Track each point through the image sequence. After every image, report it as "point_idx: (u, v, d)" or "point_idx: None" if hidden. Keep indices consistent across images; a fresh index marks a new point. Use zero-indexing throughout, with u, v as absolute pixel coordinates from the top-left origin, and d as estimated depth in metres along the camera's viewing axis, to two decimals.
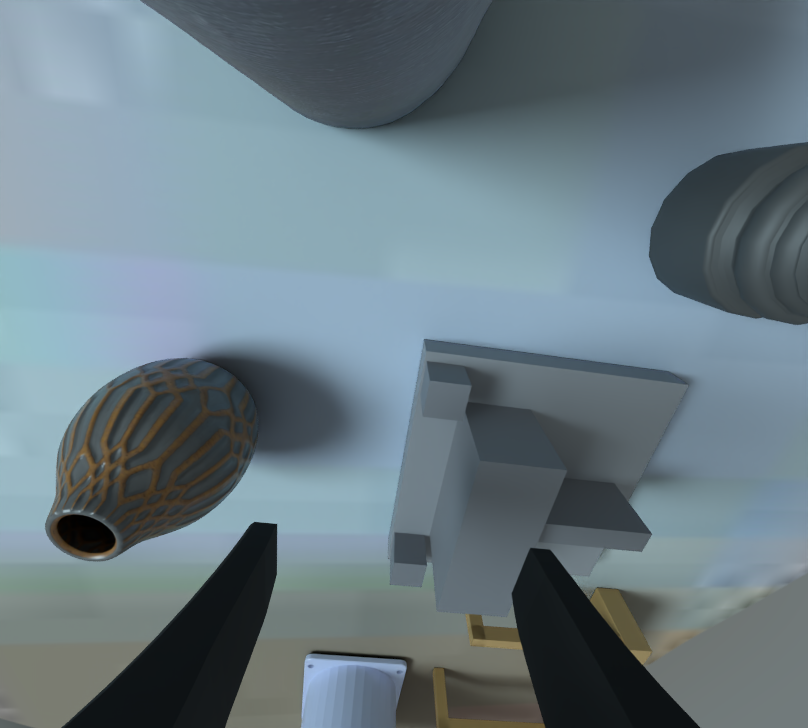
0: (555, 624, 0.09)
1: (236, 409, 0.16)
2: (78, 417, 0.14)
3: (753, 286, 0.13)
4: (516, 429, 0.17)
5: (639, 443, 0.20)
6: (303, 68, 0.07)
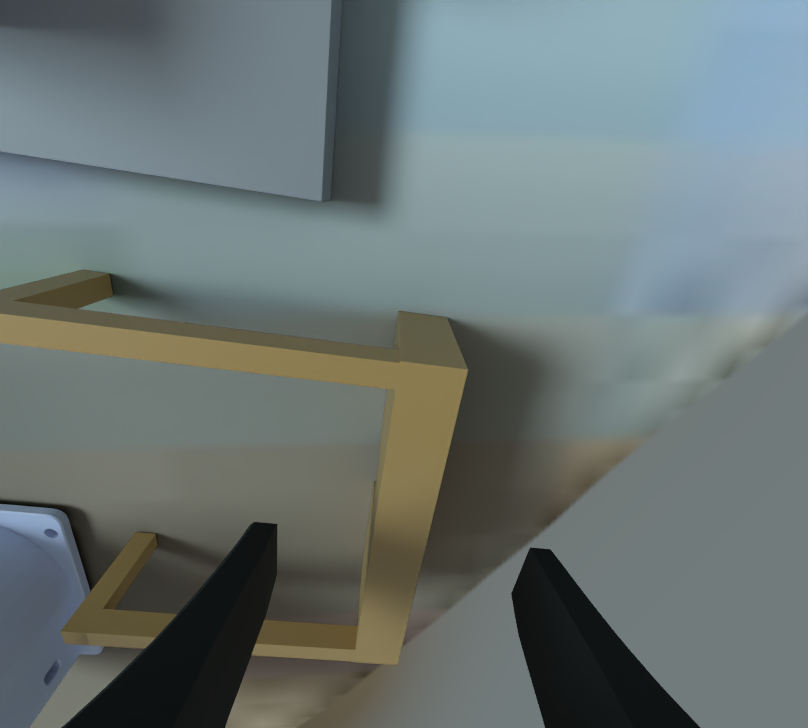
0: (555, 624, 0.09)
1: None
2: None
3: None
4: None
5: None
6: None
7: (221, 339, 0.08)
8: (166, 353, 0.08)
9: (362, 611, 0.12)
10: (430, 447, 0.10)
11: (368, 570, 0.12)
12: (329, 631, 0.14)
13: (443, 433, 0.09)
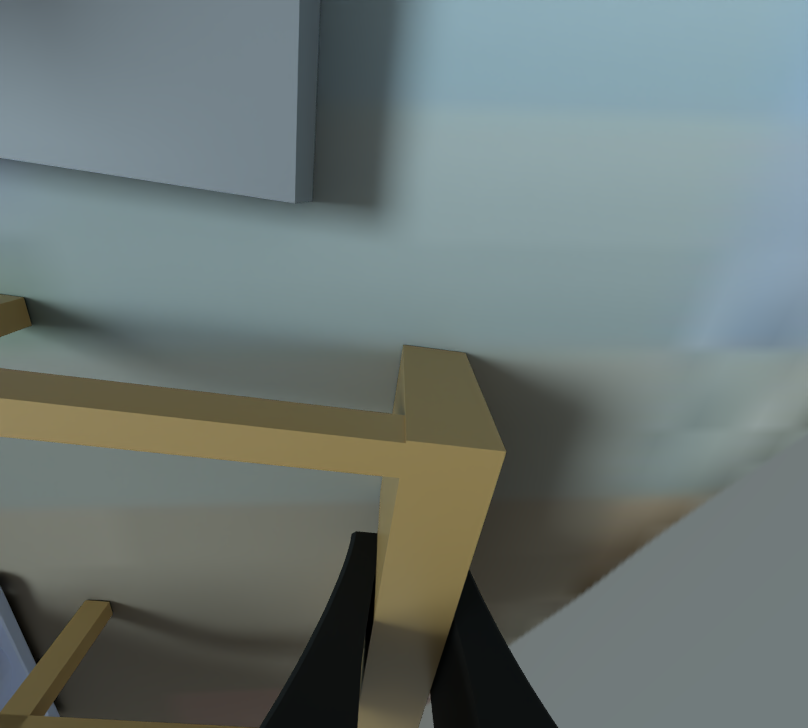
0: None
1: None
2: None
3: None
4: None
5: None
6: None
7: (139, 410, 0.06)
8: (58, 430, 0.06)
9: None
10: (448, 549, 0.07)
11: (362, 688, 0.09)
12: None
13: (467, 533, 0.07)
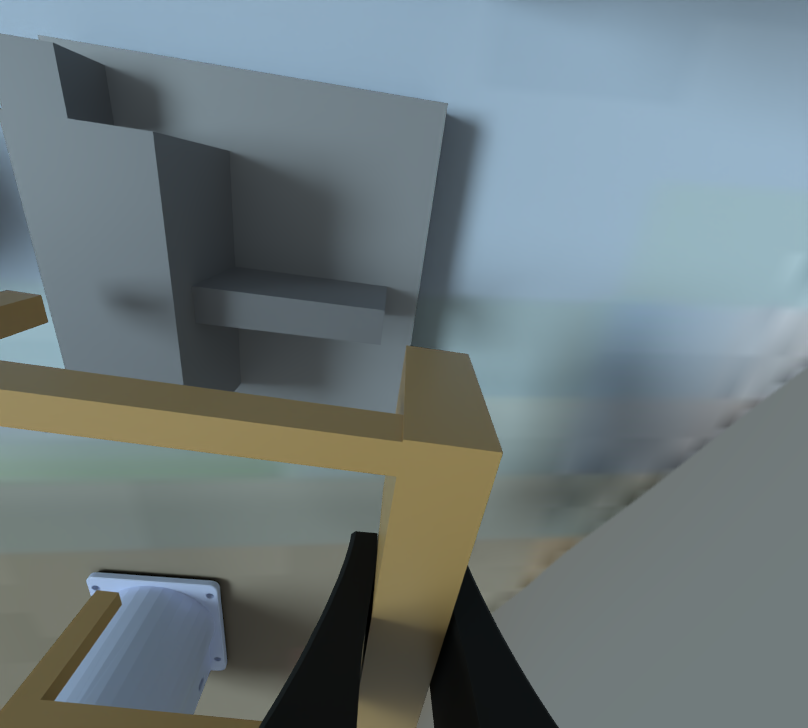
0: None
1: None
2: None
3: None
4: None
5: (403, 214, 0.14)
6: None
7: (144, 405, 0.06)
8: (68, 423, 0.06)
9: None
10: (445, 549, 0.07)
11: (360, 685, 0.09)
12: None
13: (463, 533, 0.07)
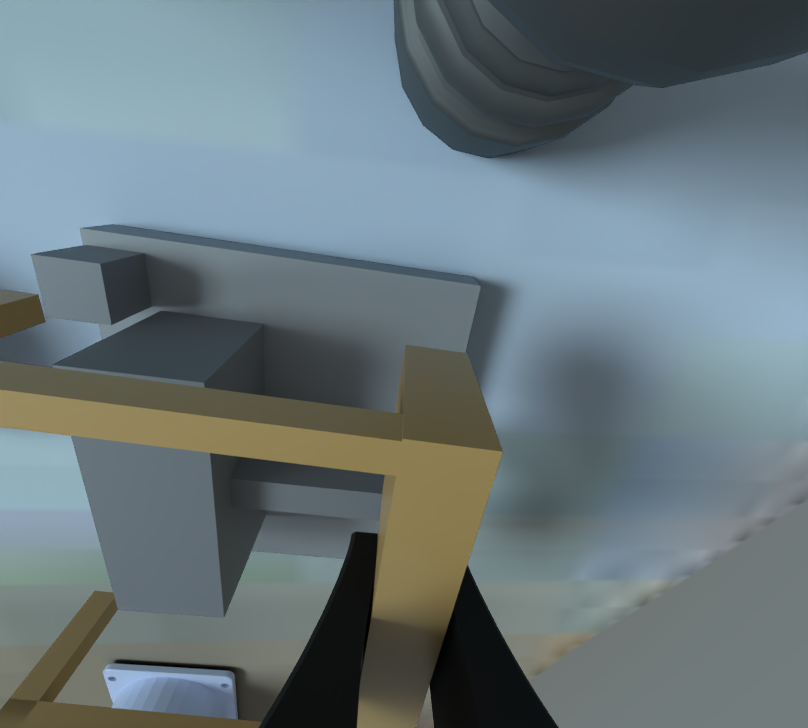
0: None
1: None
2: None
3: (435, 37, 0.07)
4: (198, 339, 0.11)
5: None
6: None
7: (142, 404, 0.06)
8: (65, 423, 0.06)
9: None
10: (445, 548, 0.07)
11: (360, 685, 0.09)
12: None
13: (463, 532, 0.07)
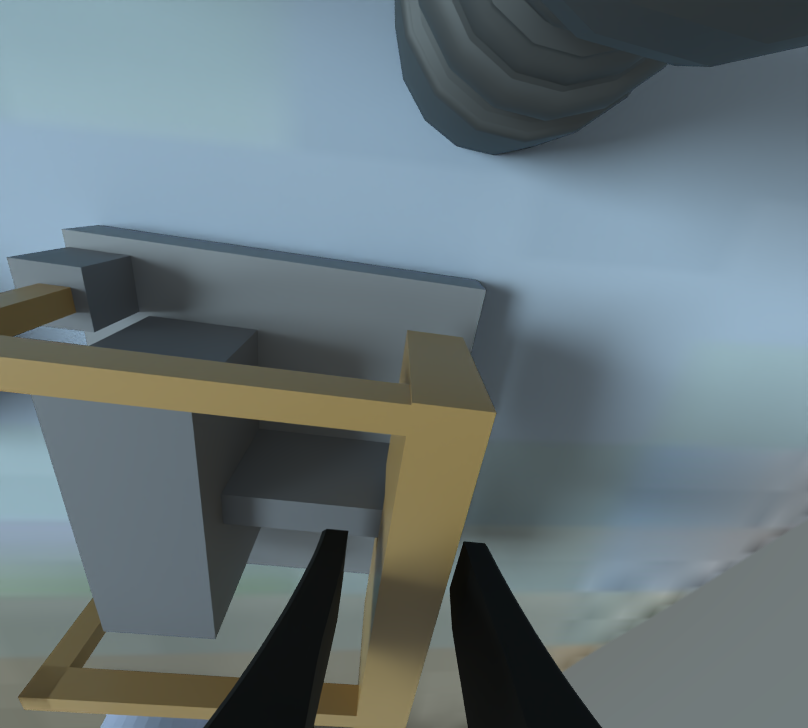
0: (476, 618, 0.09)
1: None
2: None
3: (439, 20, 0.07)
4: (187, 347, 0.11)
5: None
6: None
7: (189, 376, 0.07)
8: (121, 393, 0.07)
9: (364, 677, 0.11)
10: (447, 501, 0.08)
11: (371, 634, 0.10)
12: (327, 692, 0.12)
13: (463, 486, 0.08)
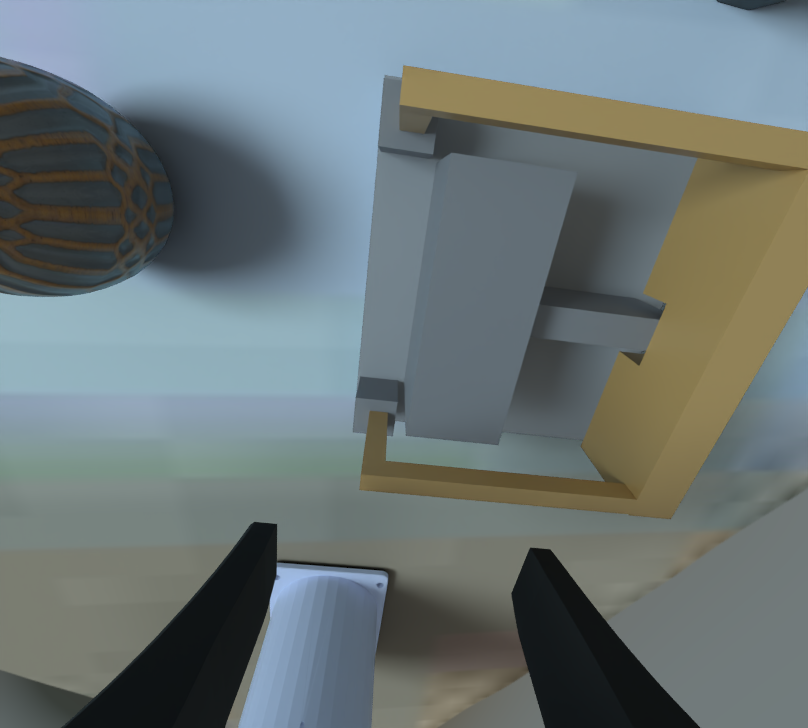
0: (555, 624, 0.09)
1: (122, 135, 0.12)
2: None
3: None
4: None
5: None
6: None
7: (659, 108, 0.08)
8: (602, 124, 0.08)
9: (663, 451, 0.12)
10: None
11: (689, 400, 0.12)
12: (602, 486, 0.14)
13: None
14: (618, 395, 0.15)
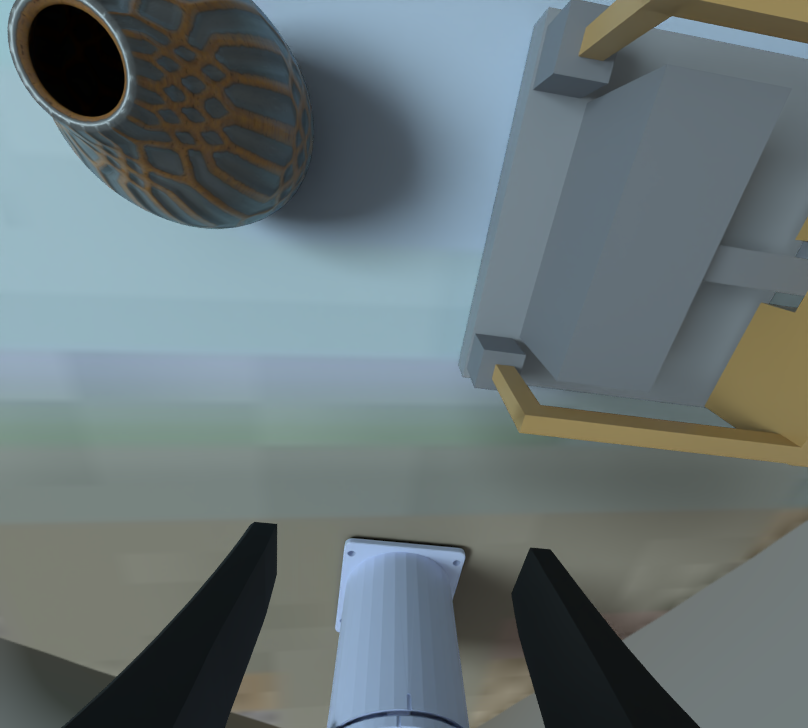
0: (555, 624, 0.09)
1: (292, 56, 0.11)
2: None
3: None
4: None
5: None
6: None
7: None
8: None
9: None
10: None
11: None
12: (760, 434, 0.13)
13: None
14: (762, 346, 0.15)
